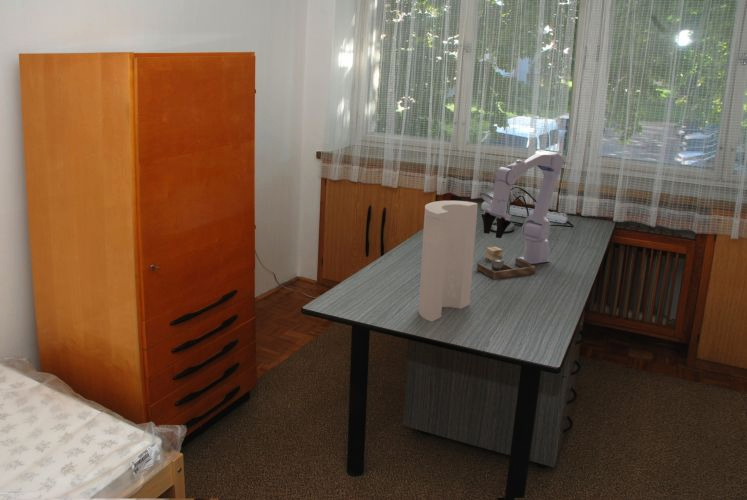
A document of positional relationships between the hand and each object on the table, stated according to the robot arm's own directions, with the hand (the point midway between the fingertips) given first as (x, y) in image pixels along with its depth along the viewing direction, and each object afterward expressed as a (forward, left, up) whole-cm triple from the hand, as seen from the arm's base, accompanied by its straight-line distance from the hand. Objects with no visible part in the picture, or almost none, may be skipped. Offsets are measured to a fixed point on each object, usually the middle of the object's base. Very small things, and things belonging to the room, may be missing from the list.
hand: (492, 235), depth 275 cm
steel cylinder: (-3, +1, -15) cm, 15 cm away
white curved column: (+37, +25, -15) cm, 47 cm away
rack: (-7, +1, -15) cm, 16 cm away
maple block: (-12, -13, -15) cm, 23 cm away
